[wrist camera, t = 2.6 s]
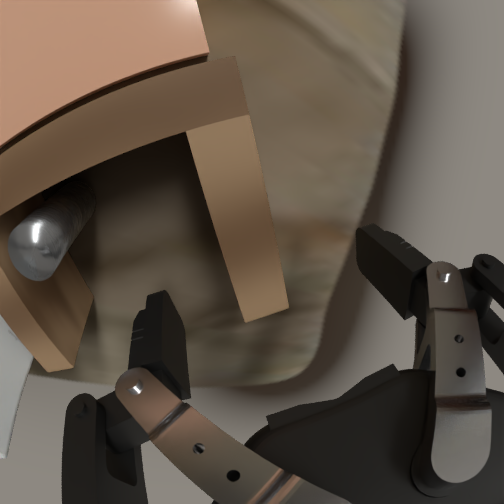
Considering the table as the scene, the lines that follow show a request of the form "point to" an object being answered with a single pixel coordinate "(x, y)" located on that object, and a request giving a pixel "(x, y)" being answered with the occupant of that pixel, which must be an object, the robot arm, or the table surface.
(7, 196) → the c link
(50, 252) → the post
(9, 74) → the tile
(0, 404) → the skincare box
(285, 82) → the table surface
